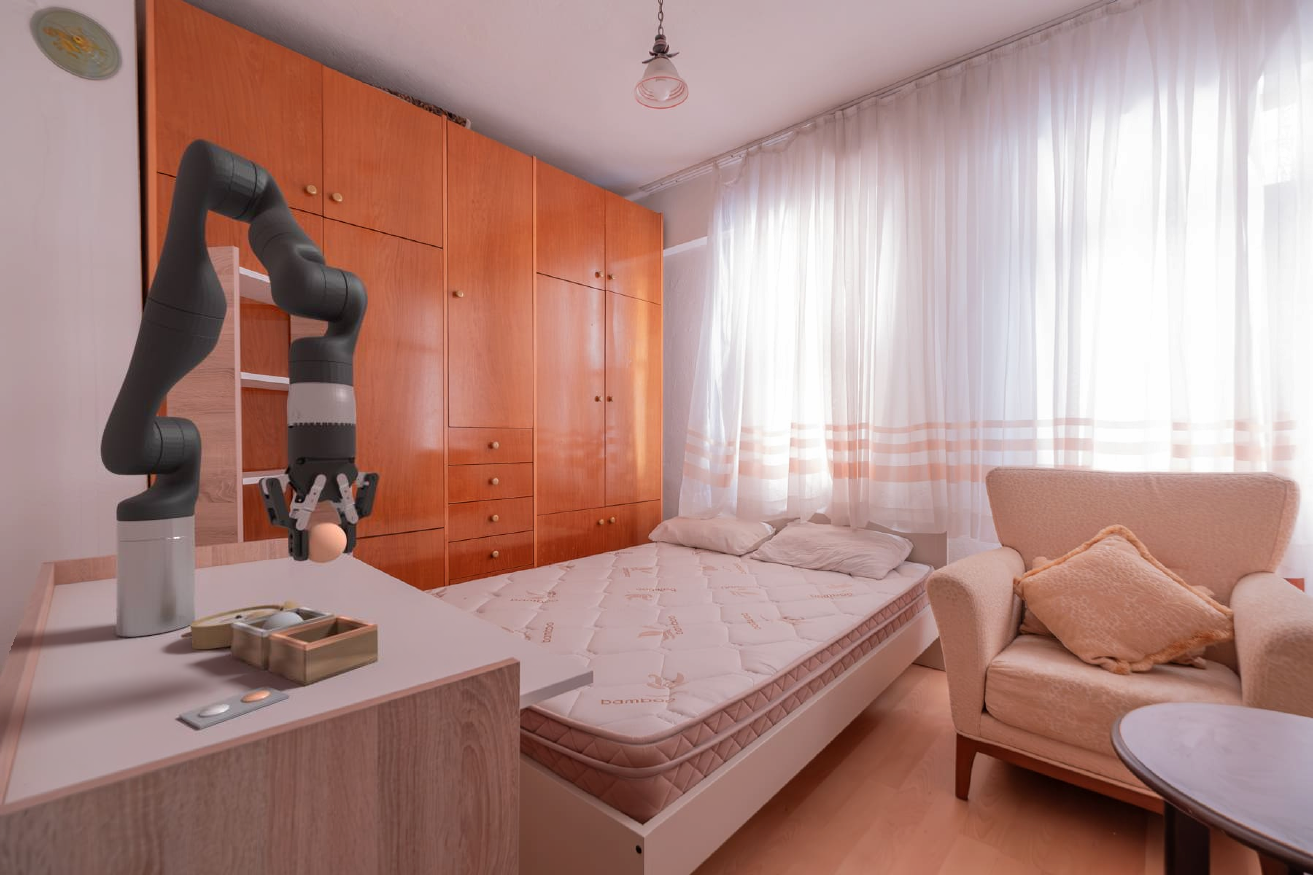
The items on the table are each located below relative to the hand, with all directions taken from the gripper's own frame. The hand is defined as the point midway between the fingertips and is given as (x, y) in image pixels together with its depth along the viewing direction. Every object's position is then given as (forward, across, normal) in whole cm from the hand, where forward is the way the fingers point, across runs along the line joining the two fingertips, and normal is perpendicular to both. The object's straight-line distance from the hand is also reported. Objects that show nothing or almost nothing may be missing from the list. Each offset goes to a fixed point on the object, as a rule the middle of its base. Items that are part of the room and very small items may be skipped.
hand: (323, 555), depth 71 cm
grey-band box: (+14, 0, -10) cm, 17 cm away
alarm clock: (+14, -1, -22) cm, 26 cm away
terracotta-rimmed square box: (+14, 0, 0) cm, 14 cm away
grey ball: (+11, 0, -10) cm, 15 cm away
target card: (+14, +11, +4) cm, 18 cm away
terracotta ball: (-2, 0, 0) cm, 2 cm away
